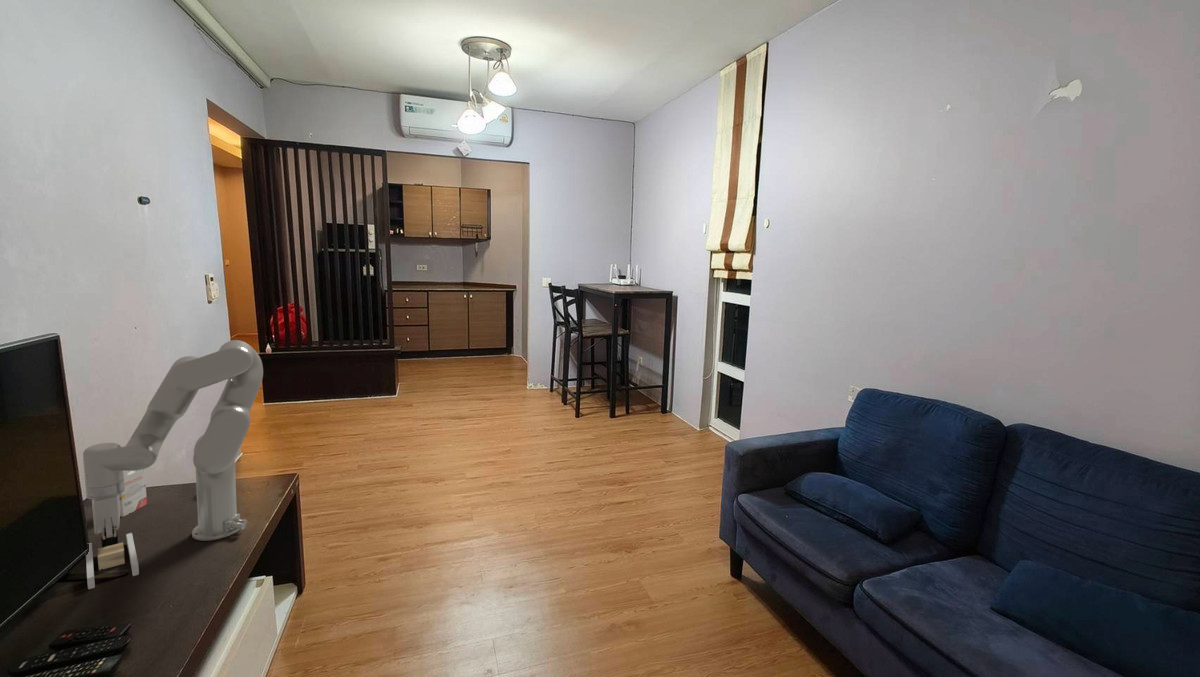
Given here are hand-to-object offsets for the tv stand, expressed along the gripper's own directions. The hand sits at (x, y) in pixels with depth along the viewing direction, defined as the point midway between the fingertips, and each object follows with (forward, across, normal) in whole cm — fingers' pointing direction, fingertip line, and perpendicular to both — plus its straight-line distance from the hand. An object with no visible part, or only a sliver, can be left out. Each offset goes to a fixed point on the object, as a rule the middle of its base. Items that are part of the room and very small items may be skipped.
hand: (110, 549), depth 139 cm
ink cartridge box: (+1, -27, +5) cm, 28 cm away
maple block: (+1, +6, 0) cm, 6 cm away
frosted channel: (+1, +7, 0) cm, 7 cm away
